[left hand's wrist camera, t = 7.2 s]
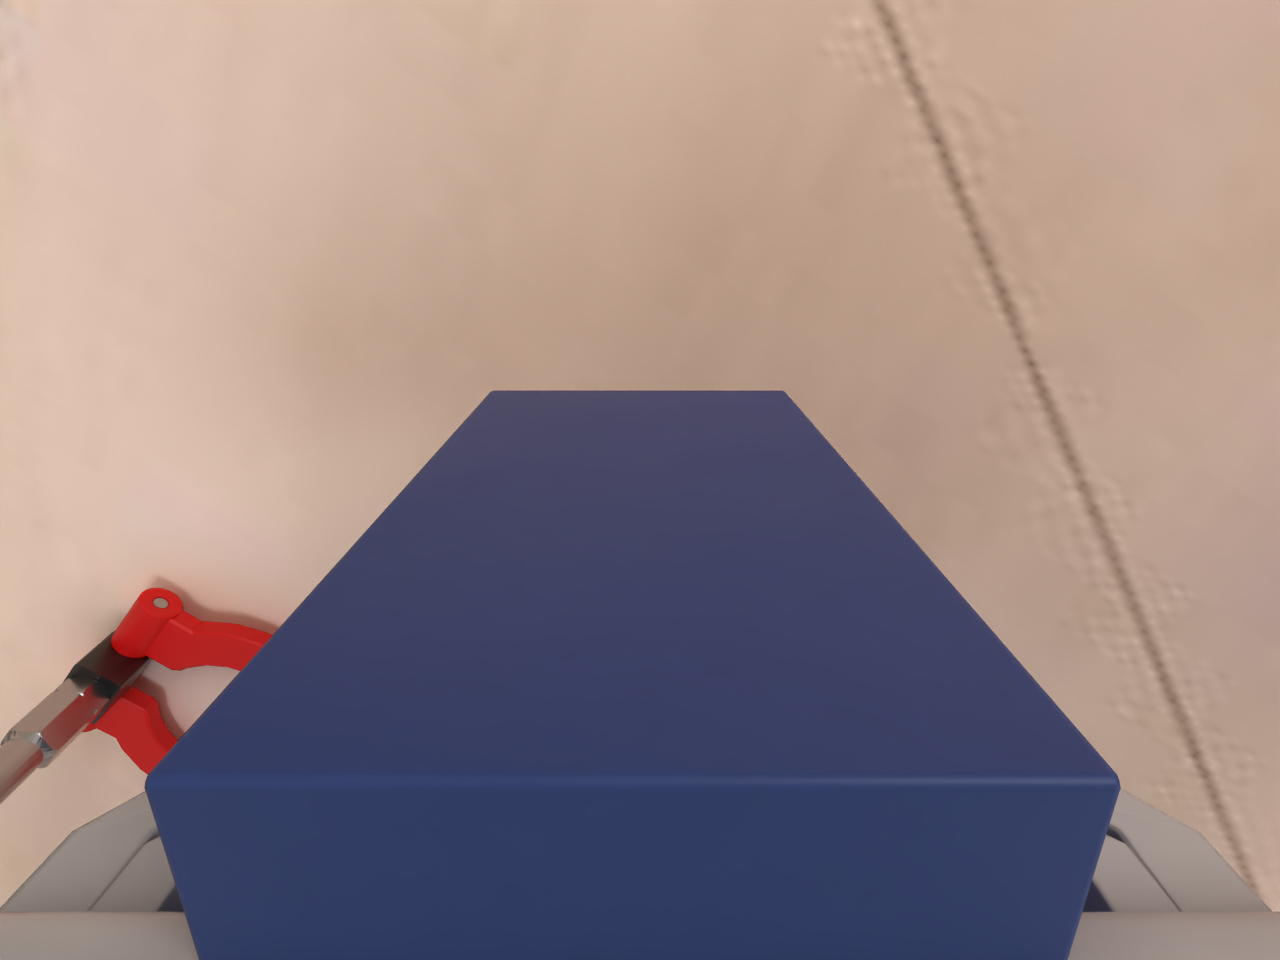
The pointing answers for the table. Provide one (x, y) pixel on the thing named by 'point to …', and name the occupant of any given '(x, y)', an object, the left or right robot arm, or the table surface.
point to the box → (633, 720)
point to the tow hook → (123, 686)
